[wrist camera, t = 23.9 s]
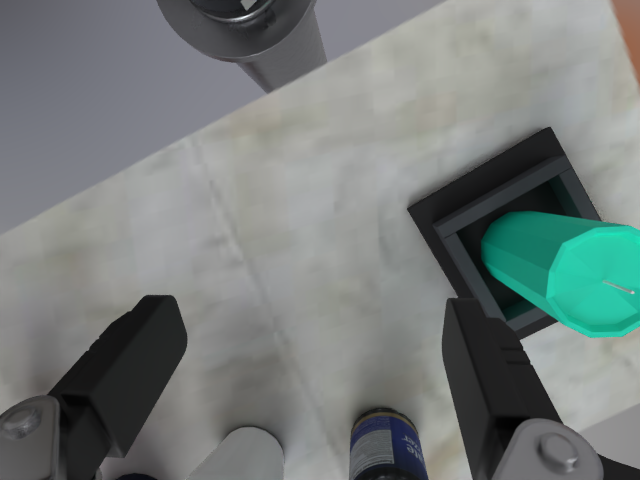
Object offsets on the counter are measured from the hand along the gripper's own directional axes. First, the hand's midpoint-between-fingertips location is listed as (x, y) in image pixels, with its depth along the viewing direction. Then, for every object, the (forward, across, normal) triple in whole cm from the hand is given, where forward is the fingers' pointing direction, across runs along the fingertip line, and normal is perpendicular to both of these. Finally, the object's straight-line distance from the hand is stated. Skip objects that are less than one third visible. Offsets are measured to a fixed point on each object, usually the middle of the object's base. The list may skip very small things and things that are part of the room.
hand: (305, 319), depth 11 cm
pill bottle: (+13, -3, +25) cm, 28 cm away
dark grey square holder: (+19, -14, +8) cm, 25 cm away
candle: (+18, -14, +8) cm, 24 cm away
